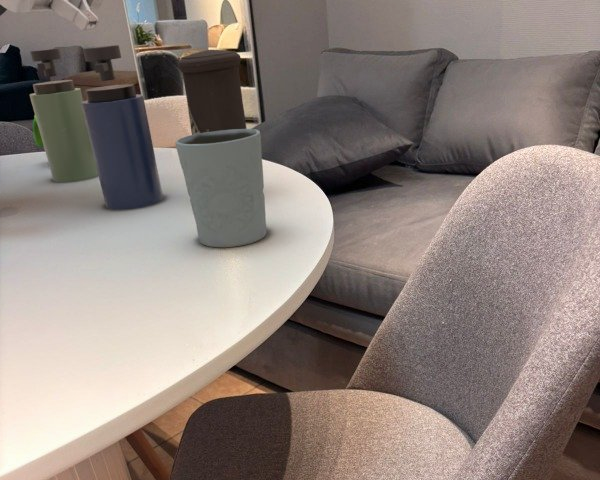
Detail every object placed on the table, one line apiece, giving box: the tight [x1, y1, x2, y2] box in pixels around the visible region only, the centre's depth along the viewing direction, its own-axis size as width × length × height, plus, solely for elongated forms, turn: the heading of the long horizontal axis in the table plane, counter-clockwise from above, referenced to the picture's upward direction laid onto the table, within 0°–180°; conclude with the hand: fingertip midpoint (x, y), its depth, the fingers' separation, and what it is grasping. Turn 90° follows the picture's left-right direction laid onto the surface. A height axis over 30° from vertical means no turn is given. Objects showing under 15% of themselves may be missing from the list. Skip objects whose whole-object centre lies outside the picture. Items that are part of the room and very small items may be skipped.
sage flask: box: [29, 79, 99, 183], centre depth 119 cm, size 9×9×16 cm
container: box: [177, 49, 247, 135], centre depth 94 cm, size 9×9×20 cm
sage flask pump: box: [29, 47, 62, 78], centre depth 112 cm, size 8×5×4 cm, turn 7°
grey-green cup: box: [174, 128, 268, 248], centre depth 78 cm, size 10×10×12 cm
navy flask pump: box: [82, 44, 122, 82], centre depth 90 cm, size 8×5×4 cm, turn 7°
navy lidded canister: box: [81, 83, 164, 211], centre depth 97 cm, size 9×9×16 cm
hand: (91, 25), depth 89 cm, fingers closed
